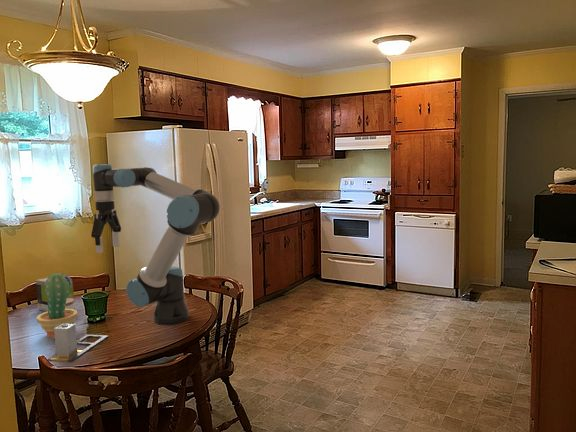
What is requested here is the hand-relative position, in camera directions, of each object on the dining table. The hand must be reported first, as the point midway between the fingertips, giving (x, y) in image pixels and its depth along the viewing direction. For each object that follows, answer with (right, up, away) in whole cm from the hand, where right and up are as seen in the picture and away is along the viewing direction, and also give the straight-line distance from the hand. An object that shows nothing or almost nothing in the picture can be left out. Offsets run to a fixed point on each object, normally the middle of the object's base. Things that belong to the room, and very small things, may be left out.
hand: (108, 249), depth 210 cm
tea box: (-33, -30, +22) cm, 50 cm away
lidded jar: (-24, -32, +9) cm, 41 cm away
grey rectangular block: (-2, -36, -34) cm, 49 cm away
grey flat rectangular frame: (-1, -35, -26) cm, 44 cm away
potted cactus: (-16, -34, -10) cm, 39 cm away
